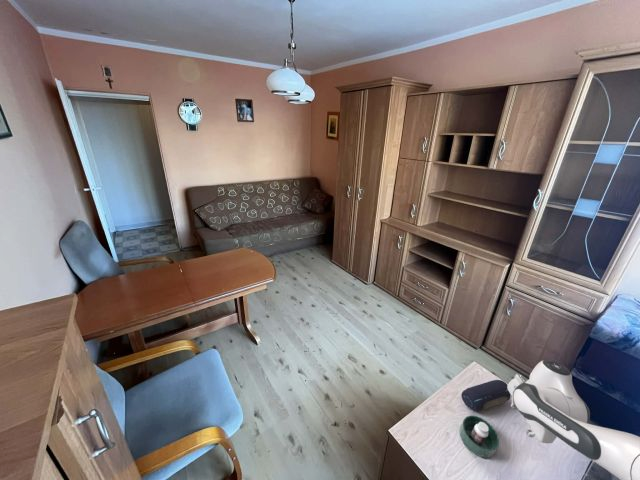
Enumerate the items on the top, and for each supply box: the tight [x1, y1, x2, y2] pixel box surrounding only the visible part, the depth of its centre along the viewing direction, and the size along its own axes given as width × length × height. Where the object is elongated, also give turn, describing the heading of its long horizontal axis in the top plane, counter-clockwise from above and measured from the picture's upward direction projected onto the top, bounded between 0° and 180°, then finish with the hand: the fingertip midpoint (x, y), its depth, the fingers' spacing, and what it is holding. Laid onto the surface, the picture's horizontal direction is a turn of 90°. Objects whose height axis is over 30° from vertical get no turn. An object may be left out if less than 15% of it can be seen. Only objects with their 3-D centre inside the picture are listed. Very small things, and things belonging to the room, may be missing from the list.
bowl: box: [458, 415, 500, 459], centre depth 117 cm, size 14×14×6 cm
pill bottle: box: [470, 422, 489, 446], centre depth 116 cm, size 5×5×10 cm
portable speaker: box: [460, 379, 512, 412], centre depth 132 cm, size 25×10×10 cm, turn 107°
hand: (521, 421), depth 98 cm, fingers open, 8 cm apart
